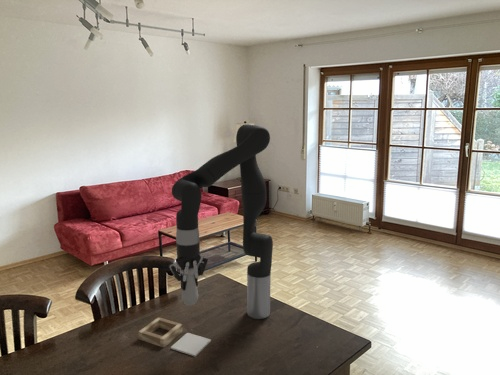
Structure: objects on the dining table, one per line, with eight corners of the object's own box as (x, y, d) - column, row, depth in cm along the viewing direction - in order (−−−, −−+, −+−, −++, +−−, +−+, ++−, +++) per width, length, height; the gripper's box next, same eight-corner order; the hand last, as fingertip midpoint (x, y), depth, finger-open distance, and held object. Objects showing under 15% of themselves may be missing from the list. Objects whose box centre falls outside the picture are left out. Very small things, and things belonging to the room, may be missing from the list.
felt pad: (187, 334, 144) (187, 332, 144) (211, 341, 140) (211, 339, 140) (170, 348, 136) (170, 347, 136) (195, 356, 131) (195, 355, 131)
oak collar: (158, 324, 151) (158, 317, 150) (182, 331, 146) (182, 324, 145) (138, 339, 141) (138, 331, 140) (163, 347, 136) (163, 339, 136)
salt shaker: (178, 303, 135) (176, 267, 132) (191, 297, 139) (190, 262, 136) (189, 308, 131) (187, 272, 128) (202, 302, 135) (201, 266, 133)
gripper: (172, 248, 124) (174, 299, 127) (212, 239, 131) (213, 288, 135) (163, 241, 130) (165, 290, 133) (201, 233, 137) (203, 280, 141)
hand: (189, 288), depth 134 cm, fingers closed on salt shaker, 3 cm apart
